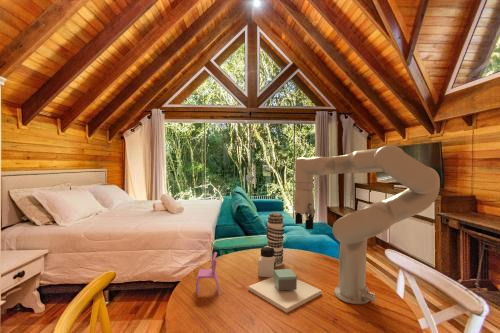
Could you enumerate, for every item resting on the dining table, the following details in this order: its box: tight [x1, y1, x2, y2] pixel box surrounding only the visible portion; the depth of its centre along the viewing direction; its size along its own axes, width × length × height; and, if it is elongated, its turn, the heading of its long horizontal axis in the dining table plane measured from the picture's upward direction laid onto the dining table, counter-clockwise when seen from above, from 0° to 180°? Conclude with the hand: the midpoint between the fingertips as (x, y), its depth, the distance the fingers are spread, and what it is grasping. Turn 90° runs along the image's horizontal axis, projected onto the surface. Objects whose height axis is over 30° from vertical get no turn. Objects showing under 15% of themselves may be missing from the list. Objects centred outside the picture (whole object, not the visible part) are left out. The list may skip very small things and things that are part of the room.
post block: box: [247, 277, 322, 314], centre depth 102 cm, size 20×20×6 cm
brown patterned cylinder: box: [265, 212, 286, 267], centre depth 131 cm, size 9×9×25 cm
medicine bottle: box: [257, 245, 277, 279], centre depth 118 cm, size 7×7×12 cm
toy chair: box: [195, 251, 220, 297], centre depth 102 cm, size 8×9×15 cm
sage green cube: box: [274, 268, 298, 291], centre depth 102 cm, size 7×7×5 cm
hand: (303, 226), depth 112 cm, fingers open, 9 cm apart
